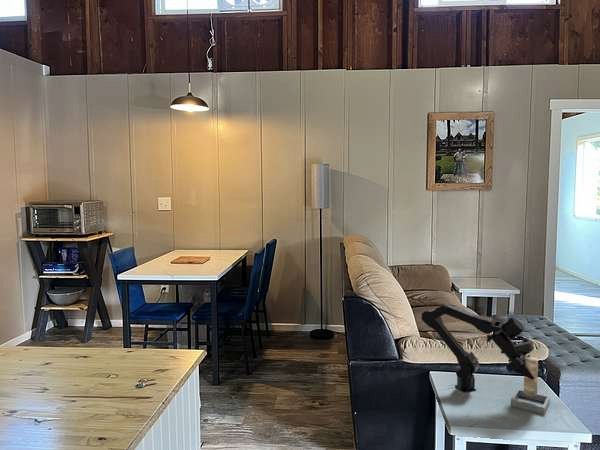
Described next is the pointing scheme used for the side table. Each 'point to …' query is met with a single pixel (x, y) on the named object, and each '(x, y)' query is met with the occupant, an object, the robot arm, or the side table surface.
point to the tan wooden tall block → (529, 384)
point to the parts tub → (527, 405)
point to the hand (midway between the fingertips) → (534, 376)
